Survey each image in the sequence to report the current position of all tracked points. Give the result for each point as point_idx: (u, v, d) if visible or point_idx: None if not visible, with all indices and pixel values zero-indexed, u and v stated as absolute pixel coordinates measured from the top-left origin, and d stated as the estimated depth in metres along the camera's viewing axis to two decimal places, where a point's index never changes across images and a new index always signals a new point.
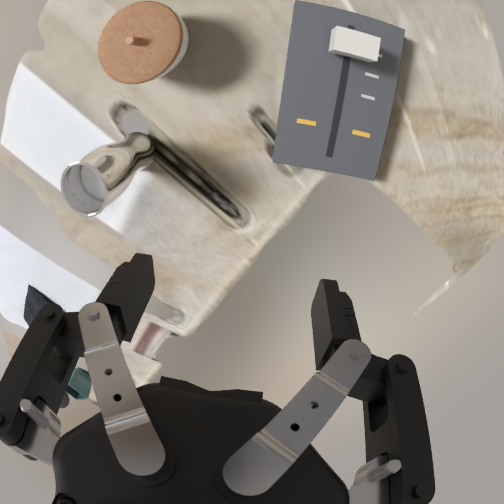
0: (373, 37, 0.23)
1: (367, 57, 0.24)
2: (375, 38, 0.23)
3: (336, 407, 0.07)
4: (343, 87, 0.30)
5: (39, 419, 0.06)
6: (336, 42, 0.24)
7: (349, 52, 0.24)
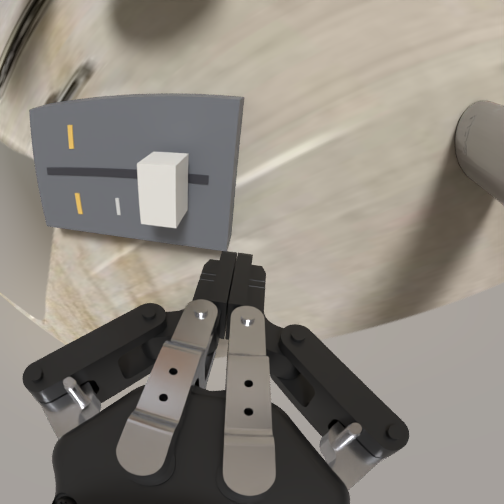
0: (173, 218, 0.21)
1: (141, 210, 0.21)
2: (172, 220, 0.22)
3: (268, 374, 0.08)
4: (118, 175, 0.24)
5: (77, 400, 0.07)
6: (148, 166, 0.19)
7: (139, 185, 0.20)
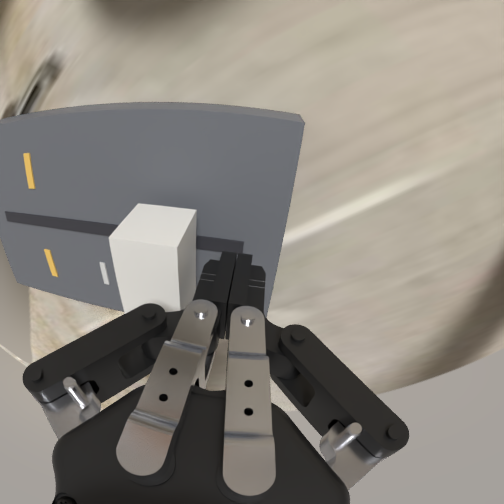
0: None
1: (124, 304, 0.13)
2: None
3: (268, 374, 0.08)
4: (101, 232, 0.16)
5: (77, 399, 0.07)
6: (128, 244, 0.11)
7: (117, 271, 0.12)
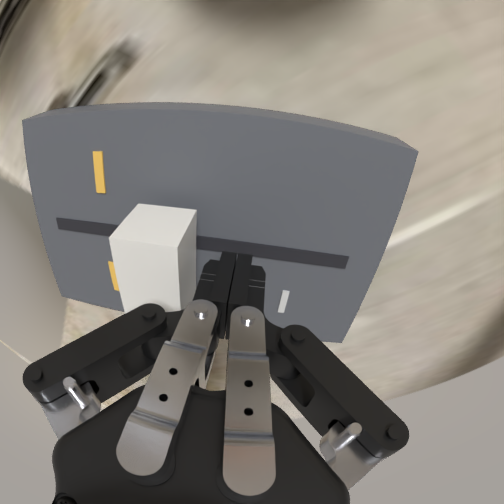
0: None
1: (125, 304, 0.13)
2: None
3: (268, 374, 0.08)
4: None
5: (77, 399, 0.07)
6: (129, 244, 0.11)
7: (117, 271, 0.12)
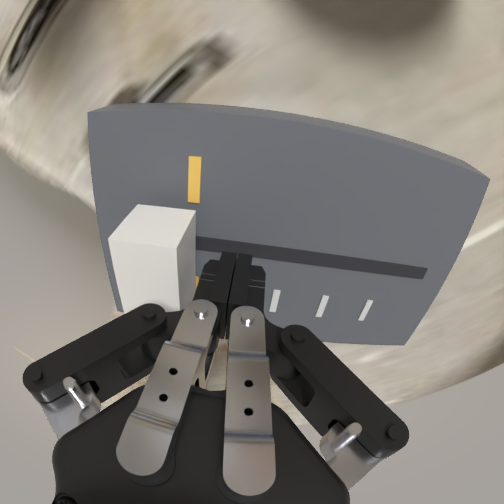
0: None
1: (124, 305, 0.13)
2: None
3: (268, 374, 0.08)
4: (292, 259, 0.16)
5: (77, 400, 0.07)
6: (128, 245, 0.11)
7: (117, 272, 0.12)
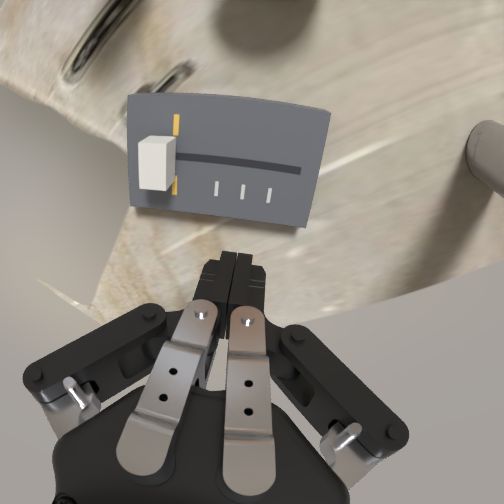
0: (163, 183, 0.28)
1: (140, 178, 0.28)
2: (162, 184, 0.28)
3: (268, 374, 0.08)
4: (222, 162, 0.31)
5: (77, 400, 0.07)
6: (146, 144, 0.26)
7: (139, 159, 0.27)
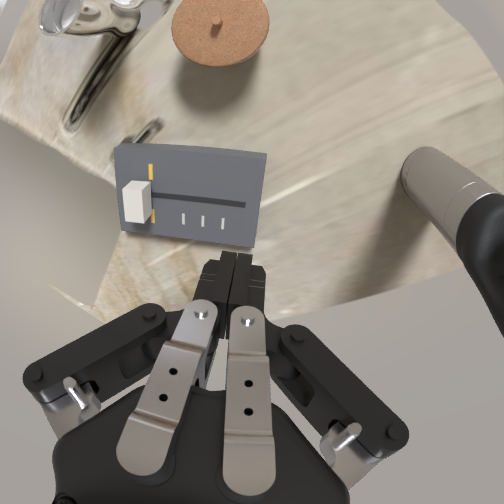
0: (142, 217, 0.38)
1: (125, 213, 0.38)
2: (141, 219, 0.39)
3: (268, 374, 0.08)
4: (186, 199, 0.41)
5: (76, 400, 0.07)
6: (128, 190, 0.36)
7: (124, 200, 0.37)
